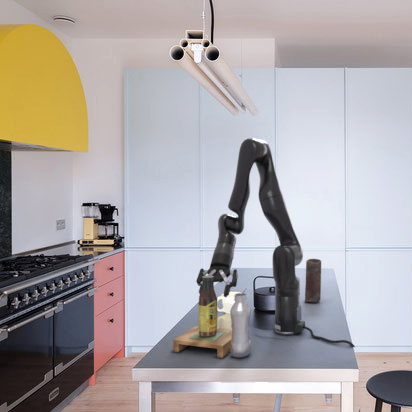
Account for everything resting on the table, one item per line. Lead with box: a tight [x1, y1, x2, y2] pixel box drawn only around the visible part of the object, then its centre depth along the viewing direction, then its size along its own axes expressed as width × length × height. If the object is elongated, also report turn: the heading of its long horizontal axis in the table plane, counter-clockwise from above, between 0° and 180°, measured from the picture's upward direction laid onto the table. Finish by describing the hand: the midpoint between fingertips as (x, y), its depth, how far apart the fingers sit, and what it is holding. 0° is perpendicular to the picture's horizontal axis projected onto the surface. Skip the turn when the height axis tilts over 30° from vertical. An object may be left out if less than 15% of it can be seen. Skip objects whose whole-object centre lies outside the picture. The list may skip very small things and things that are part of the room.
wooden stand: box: [172, 325, 232, 359], centre depth 141 cm, size 18×14×4 cm
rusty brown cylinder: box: [304, 258, 322, 303], centre depth 196 cm, size 8×7×20 cm
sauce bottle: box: [197, 275, 218, 337], centre depth 141 cm, size 6×6×20 cm
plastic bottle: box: [229, 292, 252, 358], centre depth 133 cm, size 6×7×20 cm
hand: (213, 295), depth 146 cm, fingers open, 8 cm apart
